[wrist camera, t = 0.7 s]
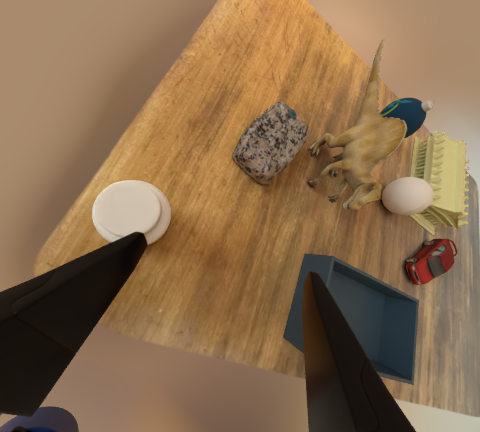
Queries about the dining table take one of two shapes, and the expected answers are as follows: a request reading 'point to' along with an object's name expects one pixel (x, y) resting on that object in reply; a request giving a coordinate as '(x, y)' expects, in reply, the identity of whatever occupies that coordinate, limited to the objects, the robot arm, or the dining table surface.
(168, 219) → the supplement bottle
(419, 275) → the toy car
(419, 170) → the model building
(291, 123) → the rock
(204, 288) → the dining table surface
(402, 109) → the christmas ornament
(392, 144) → the dinosaur figurine
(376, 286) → the storage tote
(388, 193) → the ball
